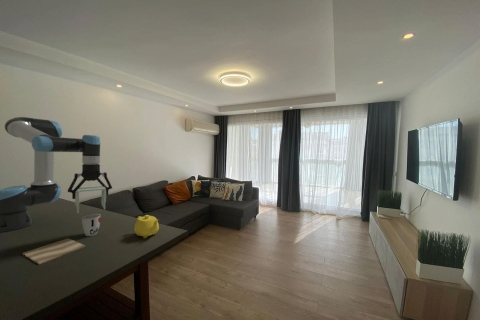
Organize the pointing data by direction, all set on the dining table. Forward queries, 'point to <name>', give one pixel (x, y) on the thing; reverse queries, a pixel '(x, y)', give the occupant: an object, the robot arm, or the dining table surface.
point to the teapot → (146, 226)
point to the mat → (53, 250)
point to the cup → (91, 224)
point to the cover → (92, 188)
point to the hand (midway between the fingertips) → (91, 203)
